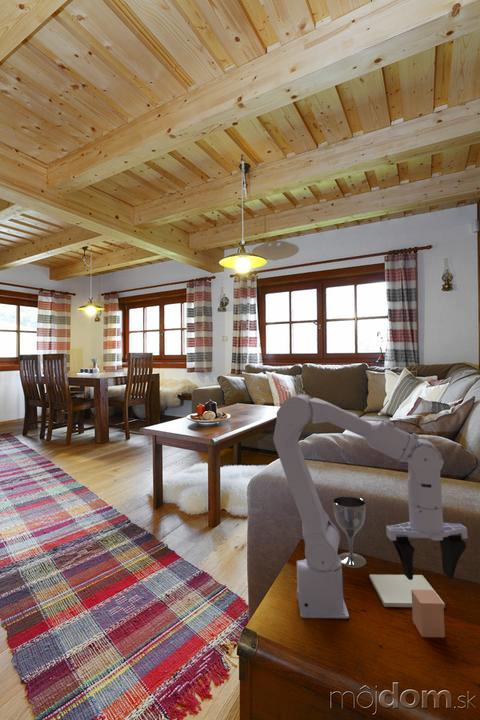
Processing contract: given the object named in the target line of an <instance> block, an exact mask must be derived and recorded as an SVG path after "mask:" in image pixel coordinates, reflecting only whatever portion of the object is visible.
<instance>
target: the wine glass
mask: <svg viewBox="0 0 480 720" xmlns="http://www.w3.org/2000/svg"><path fill="white" fill-rule="evenodd" d="M332 501H333V503H332V505H333V513H334V517H335V521H336V523H337V525H338V526H339V528H341V530H342V531H343V533H344V534H345V535H346V537H347V539H348V547H349V552H343V553H341V554H338V555H339V557H340V559H341V561H342V566H344V567H347V568H351V569H352V568H353V569H358V568H359V569H360V568H363V567H364V566H366V564H367V561H366V558H364V557H363V556H362V555H360V554H357V553H354V552H353V544H354V537H355V536H356V534H357V533H358V532H359V531H360V530H361V528H362V527H363V526H364V523H365V519H366V501H365V500H364V499H362V498H361V497H358V496H352V495H340V496H336V497H334V498H333V500H332Z"/></svg>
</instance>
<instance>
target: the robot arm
mask: <svg viewBox="0 0 480 720" xmlns="http://www.w3.org/2000/svg"><path fill="white" fill-rule="evenodd" d="M309 422H311V423H312V424H313V425H315V424H322V423H330V424H331V425H334V426H337V427H338V428H339V427H340V428H341V429H344V430H346V431H348V432H350V433H353V434H355V435H357V436H358V435H359V436H360V437H363V438H364V439H365V440H366V442H367V445H368V447H369V448H371V449H373V450H376V451H378V452H380V453H382V454H384V455H386V456H388V457H390V458H392V459H395V460H397V461H398V462H402V463H403V462H404V463H408V464H407V465H408V467H407V468H408V477H407V493H408V494H407V495H408V496H407V497H408V515H409V517H408V518H409V519H408V520H409V521H406V522H402V523H398V524H394V525H393V524H392V525H386V528H385V529H386V530H385V531H386V536H387V538H388V539H389V540H390V541H391V542H392V544H393V545H394V548H395V549H396V552H397V554H398V557H399V559H400V562H401V567H402V570H403V575H405V576H406V577H407V578H408V579H409V580H413V575H414V569H413V568H414V566H413V565H414V564H413V562H414V561H413V560H414V553H415V547H413V545H412V544H411V541H410V540H409V539H430V540H432V541H439V545H440V551H441V562H442V563H441V567H442V573H444V575H446V577H447V578H449V579H450V580H451V579H454V577H455V572H456V569H457V565H458V562H459V561H460V558H461V556H462V554H463V553H464V552H465V550H466V549H467V543H466V541H465V540H463V539H468V527H466V526H464V525H463V524H461V523H451V522H450V523H449V522H444V517H443V516H444V514H443V493H442V490H443V489H442V480H441V470H442V469H443V467H444V462H445V460H444V459H443V457H442V454H441V452H440V451H439V449H438V448H437V446H435V445H434V443H432V441H429V440H427V438H425V437H422V436H419V434H417V433H415V432H413V433H412V434H411V433H409V432H408V431H407V432H406V431H405V430H402V429H400V428H398V427H396V426H395V423H394V422H392V421H390V420H387V421H386V422H385V421H382V420H379V421H376V422H369V421H367V420H365V419H363V418H361V417H360V416H357V415H355V414H353V413H350V412H349V411H347V410H345V409H342V408H340V407H339V406H336V405H335V404H332V403H330V402H328V401H325V400H323V399H321V398H317V397H312V396H311V395H309V394H306V393H305V394H304V393H299V394H296V395H294V396H290V397H288V398H286V399H285V400H284V401H283V402H282V403H281V406H279V408H278V410H277V411H276V422H275V428H274V433H273V438H272V439H273V444H274V446H275V449H276V452H277V455H278V458H279V460H280V463H281V466H282V469H283V472H284V474H285V477H286V480H287V482H288V485H289V489H290V491H291V494H292V497H293V499H294V503H295V505H296V507H297V510H298V513H299V516H300V519H301V524H302V526H301V528H302V530H301V531H302V537H303V541H304V556H305V558H304V559H300V560H296V585H297V586H296V587H297V588H296V590H295V591H296V599H297V601H298V607H299V614H300V615H299V616H300V617H301V618H304V619H309V618H310V619H347V620H348V619H349V618H350V614H349V611H348V608H347V605H346V603H345V600H344V591H343V590H344V589H343V585H344V584H343V569H342V568H343V565H342V561H341V559H340V557H339V555H340V554H338V549H339V545H340V542H341V535H340V532H339V529H338V528H337V527H336V525H335V524H334V523H333V522H332V521H331V519H330V516H329V514H328V513H327V512H326V511H325V510H324V507H323V505H322V502H321V499H320V497H319V495H318V491H317V489H316V486H315V483H314V480H313V478H312V475H311V473H310V469H309V467H308V465H307V462H306V459H305V456H304V454H303V451H302V448H301V446H300V443H299V438H300V436H301V434H302V432H303V430H304V429H305V426H306V425H307V424H308V423H309Z"/></svg>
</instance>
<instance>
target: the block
mask: <svg viewBox="0 0 480 720" xmlns="http://www.w3.org/2000/svg"><path fill="white" fill-rule="evenodd" d="M434 591H435V590H434ZM434 591H433V590H411V593H412V607H411V613H412V622H413V624H414V626H415V625H416V626H415V627H416V629H417V631H418V632H419V634H420V635H421V637H422V638H444V637H445V638H446V631H445V630H446V629H445V612H444V610H445V608H443V603H442V601H443V600H442V599H441V600H442V601H441V600H440V599H439V597H440V596H439V595H438V594H437V595H438V596H439V597H438V596H437V595H436V594H435V592H436V591H435V592H434Z"/></svg>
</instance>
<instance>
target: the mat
mask: <svg viewBox="0 0 480 720" xmlns="http://www.w3.org/2000/svg"><path fill="white" fill-rule="evenodd" d="M369 579H370V581H371V584H372V586H373V587H374V589H375V591H376V593H377V595H378V597H379V599H380V600H381V603H382V605H383V606H384V608H385V607H386V608H390V607H391V608H412V593H411V590H433V591H434V592H435V594H436V595H437V596H438V597H439V599H440V600H441V601H442V603H443V608H444V609H445V608H446V604H445V602H444V601H443V599H441V597H440V595H438V593H437V592H436V590H434V588H433V587H432V585H431V584H430V583H429V582H428V580H427V579H426V577H424V575H422V574H413V580H409V579H408V578H407V577H406V576H405V575H404V574H369Z"/></svg>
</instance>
